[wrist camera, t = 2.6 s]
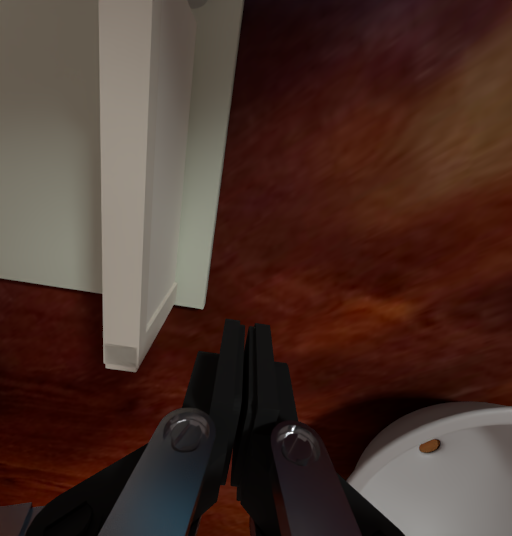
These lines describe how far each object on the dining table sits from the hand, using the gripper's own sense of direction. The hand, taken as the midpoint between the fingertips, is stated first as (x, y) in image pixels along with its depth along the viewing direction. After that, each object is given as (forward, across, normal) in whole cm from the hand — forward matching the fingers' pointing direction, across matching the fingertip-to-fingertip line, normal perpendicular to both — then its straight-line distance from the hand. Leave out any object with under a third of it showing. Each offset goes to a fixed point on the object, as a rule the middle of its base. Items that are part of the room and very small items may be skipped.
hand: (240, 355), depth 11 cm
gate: (+12, +6, -5) cm, 14 cm away
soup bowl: (+14, -23, +18) cm, 33 cm away
